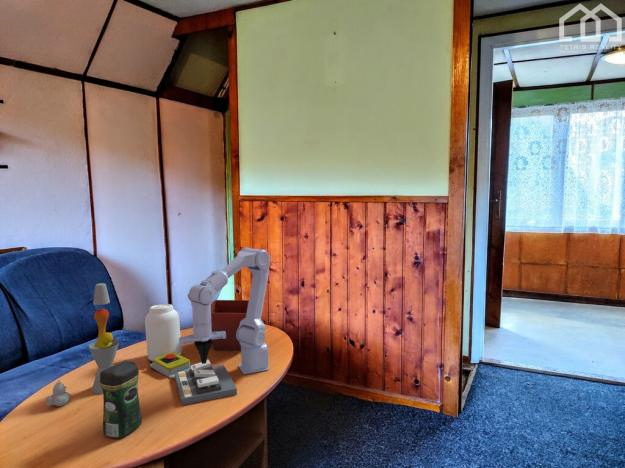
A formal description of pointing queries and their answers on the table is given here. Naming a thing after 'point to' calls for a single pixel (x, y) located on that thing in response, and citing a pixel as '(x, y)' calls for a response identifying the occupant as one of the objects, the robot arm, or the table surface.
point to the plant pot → (227, 322)
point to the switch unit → (194, 394)
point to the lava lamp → (102, 337)
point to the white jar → (162, 331)
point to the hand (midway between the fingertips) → (203, 362)
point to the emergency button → (171, 364)
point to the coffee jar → (120, 399)
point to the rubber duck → (58, 395)
